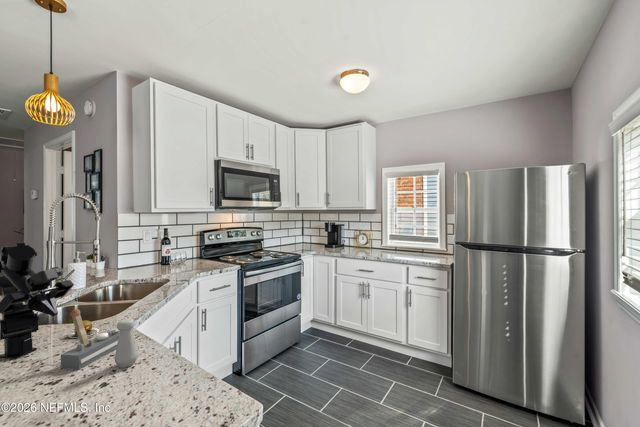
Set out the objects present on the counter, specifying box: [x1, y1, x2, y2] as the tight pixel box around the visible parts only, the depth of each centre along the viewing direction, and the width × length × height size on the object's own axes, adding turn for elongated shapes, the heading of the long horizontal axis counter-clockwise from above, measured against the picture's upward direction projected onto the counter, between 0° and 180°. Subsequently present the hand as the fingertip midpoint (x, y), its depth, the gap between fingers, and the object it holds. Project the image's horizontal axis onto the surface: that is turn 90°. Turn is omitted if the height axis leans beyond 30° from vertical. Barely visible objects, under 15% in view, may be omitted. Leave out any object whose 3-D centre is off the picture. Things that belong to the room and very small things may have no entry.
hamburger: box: [68, 320, 100, 339], centre depth 113 cm, size 12×12×6 cm
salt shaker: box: [113, 318, 139, 369], centre depth 89 cm, size 6×6×13 cm
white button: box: [95, 332, 108, 340], centre depth 98 cm, size 3×3×1 cm
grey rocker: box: [106, 327, 120, 333], centre depth 102 cm, size 3×2×1 cm, turn 82°
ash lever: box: [69, 308, 89, 345], centre depth 92 cm, size 2×2×11 cm
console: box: [60, 330, 120, 371], centre depth 96 cm, size 6×18×6 cm, turn 172°
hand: (55, 314), depth 93 cm, fingers closed
